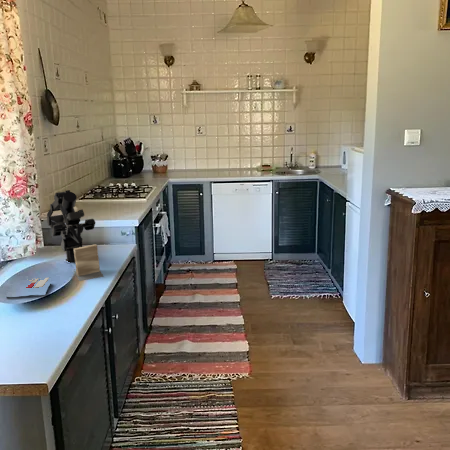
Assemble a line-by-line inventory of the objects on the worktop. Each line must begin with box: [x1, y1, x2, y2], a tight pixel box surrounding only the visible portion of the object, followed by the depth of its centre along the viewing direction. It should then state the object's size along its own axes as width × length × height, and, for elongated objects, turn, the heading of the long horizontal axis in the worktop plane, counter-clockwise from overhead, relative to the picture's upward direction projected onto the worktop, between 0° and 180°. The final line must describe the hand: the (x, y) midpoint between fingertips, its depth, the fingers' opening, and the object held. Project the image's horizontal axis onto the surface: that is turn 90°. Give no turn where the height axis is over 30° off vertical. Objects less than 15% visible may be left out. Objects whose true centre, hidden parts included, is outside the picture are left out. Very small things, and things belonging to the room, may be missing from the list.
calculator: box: [26, 277, 50, 288], centre depth 190 cm, size 11×4×15 cm
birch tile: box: [74, 244, 101, 276], centre depth 206 cm, size 2×10×12 cm, turn 124°
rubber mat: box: [75, 270, 105, 282], centre depth 208 cm, size 16×10×1 cm, turn 25°
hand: (79, 242), depth 211 cm, fingers closed
